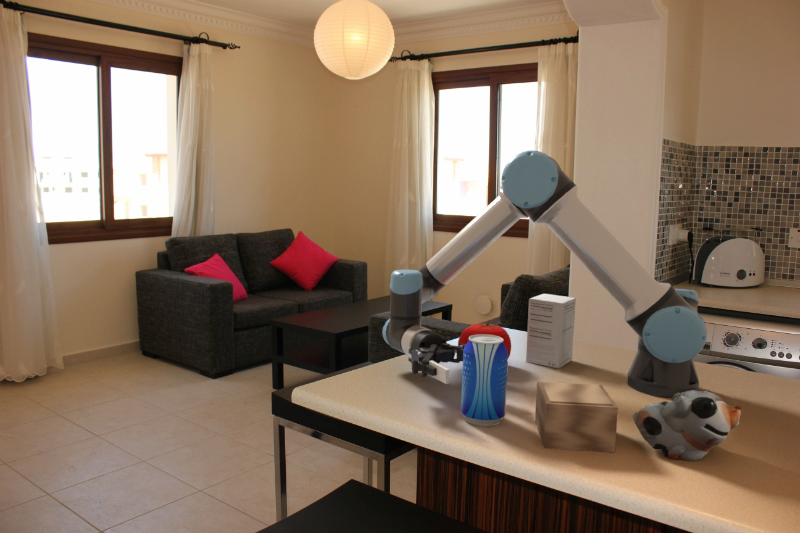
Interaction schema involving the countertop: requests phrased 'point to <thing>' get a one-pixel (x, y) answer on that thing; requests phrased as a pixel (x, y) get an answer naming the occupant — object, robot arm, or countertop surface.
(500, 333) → the tomato
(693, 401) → the lucky cat figurine
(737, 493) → the countertop surface
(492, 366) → the beer can
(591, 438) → the block
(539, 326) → the supplement box
